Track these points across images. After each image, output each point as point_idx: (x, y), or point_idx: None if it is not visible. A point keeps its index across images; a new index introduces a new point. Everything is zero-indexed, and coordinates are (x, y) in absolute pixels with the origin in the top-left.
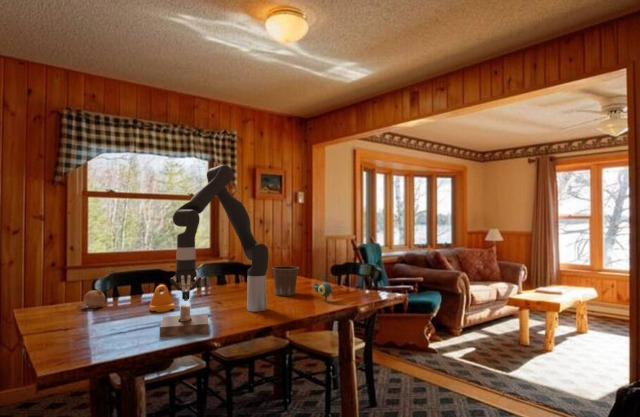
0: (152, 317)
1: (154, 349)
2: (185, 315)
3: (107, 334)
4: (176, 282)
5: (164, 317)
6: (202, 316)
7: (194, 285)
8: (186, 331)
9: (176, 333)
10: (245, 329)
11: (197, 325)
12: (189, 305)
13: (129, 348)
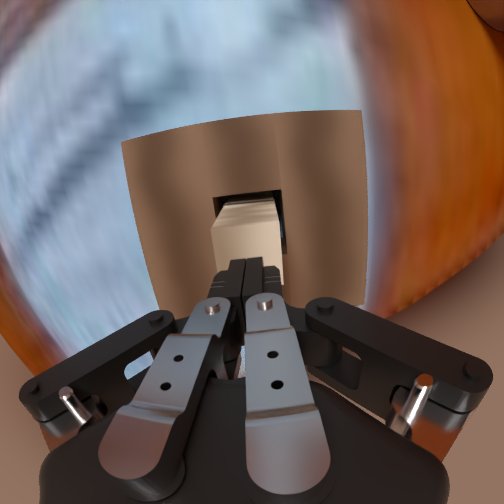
0: (83, 16)
1: None
2: None
3: (21, 234)
4: (100, 371)
5: (129, 156)
6: (338, 162)
7: (351, 383)
8: None
9: None
10: (466, 248)
11: None
12: (278, 261)
13: (133, 367)
